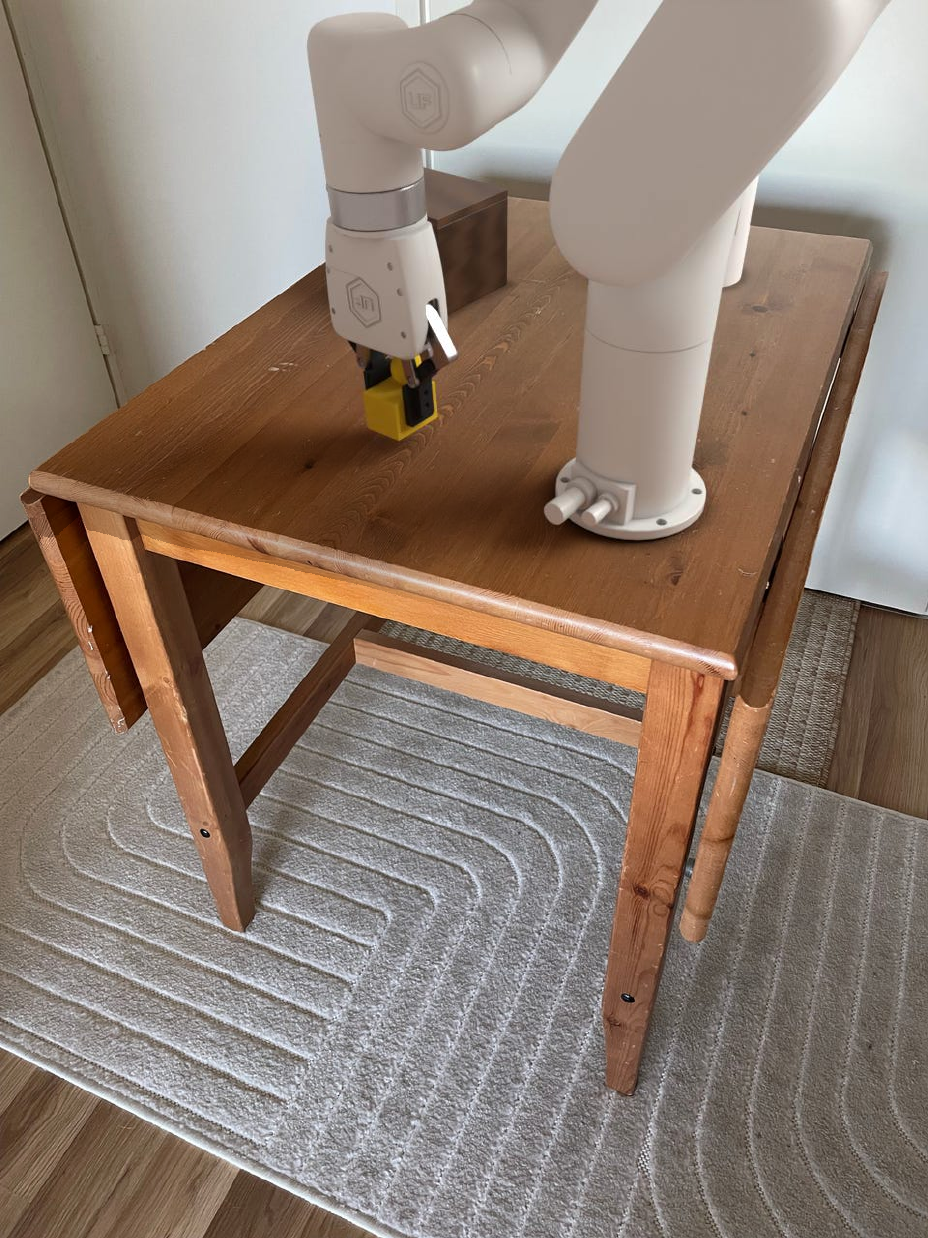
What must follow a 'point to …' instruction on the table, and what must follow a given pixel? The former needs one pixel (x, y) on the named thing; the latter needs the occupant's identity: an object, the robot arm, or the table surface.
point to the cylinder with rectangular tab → (740, 236)
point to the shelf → (468, 235)
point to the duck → (392, 404)
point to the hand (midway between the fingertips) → (401, 410)
